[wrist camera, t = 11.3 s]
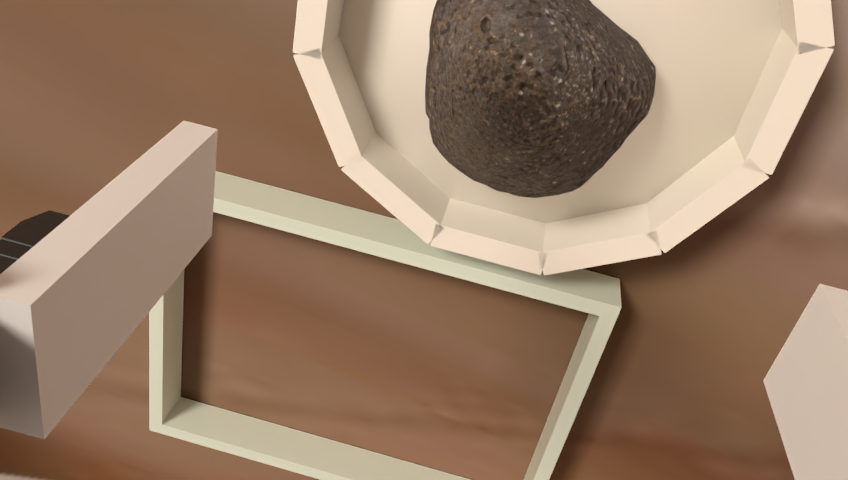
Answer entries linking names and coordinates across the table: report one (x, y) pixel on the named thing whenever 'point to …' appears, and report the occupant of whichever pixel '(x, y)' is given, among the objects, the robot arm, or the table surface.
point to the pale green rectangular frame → (388, 238)
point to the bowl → (621, 175)
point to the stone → (532, 91)
